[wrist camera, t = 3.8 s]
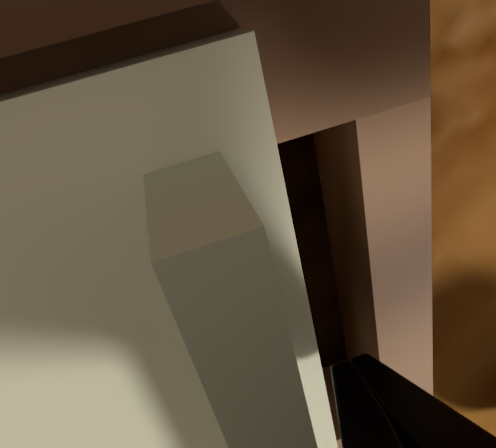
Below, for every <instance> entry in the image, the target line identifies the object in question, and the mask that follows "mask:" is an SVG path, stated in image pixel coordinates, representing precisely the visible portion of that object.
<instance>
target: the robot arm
mask: <svg viewBox="0 0 496 448" xmlns="http://www.w3.org/2000/svg"><path fill="white" fill-rule="evenodd" d="M331 375H332V382H333V389H334V395H335V402H336V409H337V416H338V422H339V429H340V436H341V443H342V448H496V437H495V436H493V435H492V434H490V433H489V432H487V431H486V430H484V429H483V428H481V427H480V426H478V425H477V424H475V423H474V422H472V421H471V420H469V419H467V418H466V417H464V416H463V415H461V414H460V413H458V412H457V411H455V410H454V409H452V408H451V407H449V406H448V405H446V404H445V403H443V402H442V401H440V400H439V399H437V398H435V397H434V396H432V395H431V394H429V393H428V392H426V391H425V390H423V389H422V388H420V387H419V386H417V385H416V384H414V383H413V382H411V381H410V380H408V379H406V378H405V377H403V376H402V375H400V374H399V373H397V372H396V371H394V370H393V369H391V368H390V367H388V366H387V365H385V364H384V363H382V362H381V361H379V360H377V359H376V358H374V357H373V356H371V355H370V354H367V353H363V354H360V355H358V356H355V357H352V358H350V359H349V360H344V361H341V362H338V363H335V364H333V365H332V366H331Z"/></svg>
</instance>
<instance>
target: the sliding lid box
mask: <svg viewBox="0 0 496 448" xmlns="http://www.w3.org/2000/svg"><path fill="white" fill-rule="evenodd" d="M241 27H242V28H245V29H249V30H253V31H254V32H255V37H256V42H257V47H258V52H259V57H260V62H261V67H262V72H263V77H264V82H265V86H266V91H267V96H268V101H269V106H270V111H271V116H272V121H273V126H274V131H275V136H276V141H277V144H279V143H282V142H285V141H289V140H292V139H295V138H298V137H302V136H305V135H308V134H311V133H313V138H314V144H315V151H316V157H317V164H318V170H319V177H320V183H321V190H322V196H323V203H324V209H325V216H326V222H327V229H328V235H329V242H330V248H331V255H332V261H333V268H334V274H335V281H336V287H337V294H338V300H339V307H340V313H341V320H342V326H343V333H344V339H345V346H346V352H347V359H345V360H349V359H350V358H352V357H355V356H358V355H360V354H363V353H367V354H370V355H371V356H373V357H374V358H376V359H377V360H379V361H381V362H382V363H384V364H385V365H387V366H388V367H390V368H391V369H393V370H394V371H396V372H397V373H399V374H400V375H402V376H403V377H405V378H406V379H408V380H410V381H411V382H413V383H414V384H416V385H417V386H419V387H420V388H422V389H423V390H425V391H426V392H428V393H429V394H431V395H432V396H433V329H432V211H431V93H430V0H0V94H3V93H7V92H10V91H14V90H18V89H21V88H25V87H28V86H32V85H36V84H39V83H43V82H46V81H50V80H54V79H57V78H61V77H64V76H68V75H72V74H75V73H79V72H82V71H86V70H90V69H93V68H97V67H100V66H104V65H108V64H111V63H115V62H118V61H122V60H126V59H129V58H133V57H136V56H140V55H144V54H147V53H151V52H154V51H158V50H162V49H165V48H169V47H172V46H176V45H180V44H183V43H187V42H190V41H194V40H198V39H201V38H205V37H208V36H212V35H216V34H219V33H223V32H226V31H230V30H234V29H237V28H241ZM342 361H344V360H342ZM340 362H341V361H340ZM337 363H338V362H337ZM334 364H335V363H334ZM332 365H333V364H331V365H329V366H326V367H323V368H322V371H323V376H324V381H325V386H326V391H327V396H328V401H329V406H330V411H331V416H332V421H333V426H334V431H335V436H336V441H337V446H338V448H342V443H341V436H340V429H339V422H338V416H337V409H336V402H335V395H334V389H333V382H332V375H331V366H332Z"/></svg>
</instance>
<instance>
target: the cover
mask: <svg viewBox="0 0 496 448" xmlns="http://www.w3.org/2000/svg"><path fill="white" fill-rule="evenodd" d="M0 448H338V446H337V441H336V436H335V431H334V426H333V421H332V416H331V411H330V406H329V401H328V396H327V391H326V386H325V381H324V376H323V371H322V366H321V361H320V356H319V351H318V346H317V341H316V336H315V331H314V326H313V321H312V316H311V311H310V306H309V301H308V296H307V291H306V286H305V281H304V276H303V271H302V266H301V261H300V256H299V251H298V246H297V241H296V236H295V231H294V226H293V221H292V216H291V211H290V206H289V201H288V196H287V191H286V186H285V181H284V176H283V171H282V166H281V161H280V156H279V151H278V146H277V141H276V136H275V131H274V126H273V121H272V116H271V111H270V106H269V101H268V96H267V91H266V86H265V82H264V77H263V72H262V67H261V62H260V57H259V52H258V47H257V42H256V37H255V32H254V31H253V30H249V29H245V28H242V27H241V28H237V29H234V30H230V31H226V32H223V33H219V34H216V35H212V36H208V37H205V38H201V39H198V40H194V41H190V42H187V43H183V44H180V45H176V46H172V47H169V48H165V49H162V50H158V51H154V52H151V53H147V54H144V55H140V56H136V57H133V58H129V59H126V60H122V61H118V62H115V63H111V64H108V65H104V66H100V67H97V68H93V69H90V70H86V71H82V72H79V73H75V74H72V75H68V76H64V77H61V78H57V79H54V80H50V81H46V82H43V83H39V84H36V85H32V86H28V87H25V88H21V89H18V90H14V91H10V92H7V93H3V94H0Z"/></svg>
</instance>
